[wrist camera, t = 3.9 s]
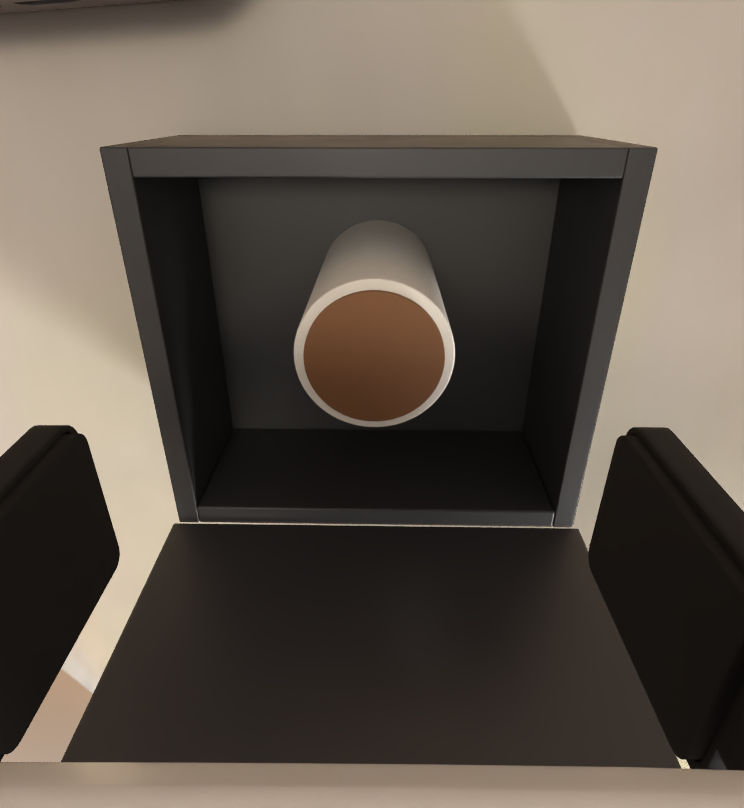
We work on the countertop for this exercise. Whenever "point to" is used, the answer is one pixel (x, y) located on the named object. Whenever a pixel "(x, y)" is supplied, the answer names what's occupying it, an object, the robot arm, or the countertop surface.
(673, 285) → the countertop surface
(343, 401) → the cream cup
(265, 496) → the dark open box
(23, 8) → the streaming box
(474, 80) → the countertop surface
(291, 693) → the lid
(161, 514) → the countertop surface
